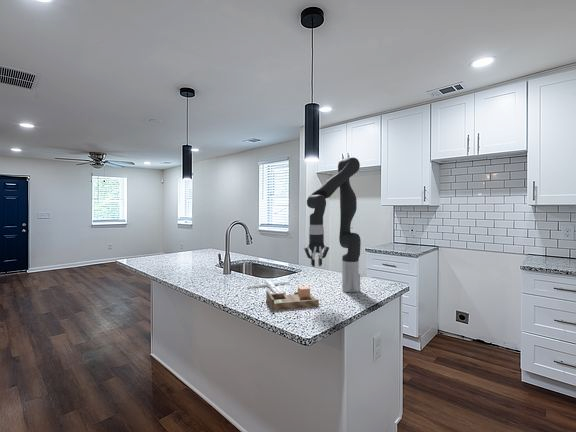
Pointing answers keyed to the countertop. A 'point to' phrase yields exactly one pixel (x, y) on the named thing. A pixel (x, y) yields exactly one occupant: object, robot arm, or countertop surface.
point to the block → (304, 291)
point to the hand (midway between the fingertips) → (316, 266)
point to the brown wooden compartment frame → (289, 301)
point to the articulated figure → (271, 286)
